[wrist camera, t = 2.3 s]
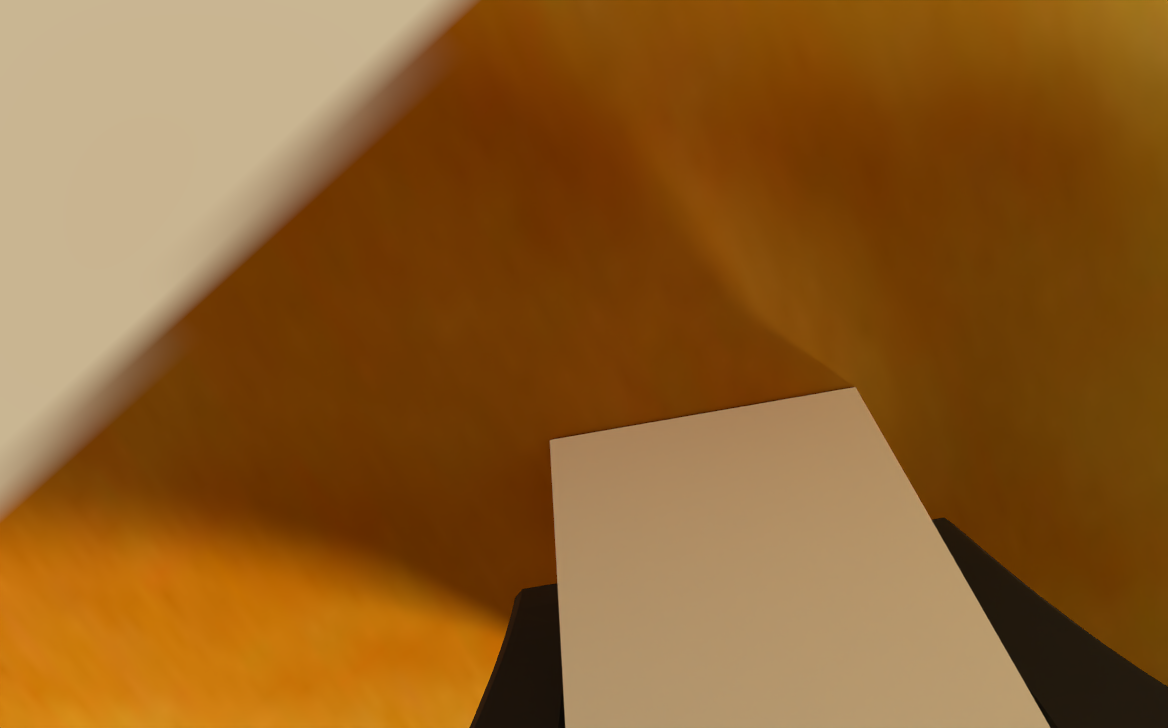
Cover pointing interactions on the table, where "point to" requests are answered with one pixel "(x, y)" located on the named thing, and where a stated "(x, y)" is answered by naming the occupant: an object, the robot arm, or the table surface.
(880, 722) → the cream block
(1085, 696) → the robot arm
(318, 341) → the table surface
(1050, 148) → the table surface
